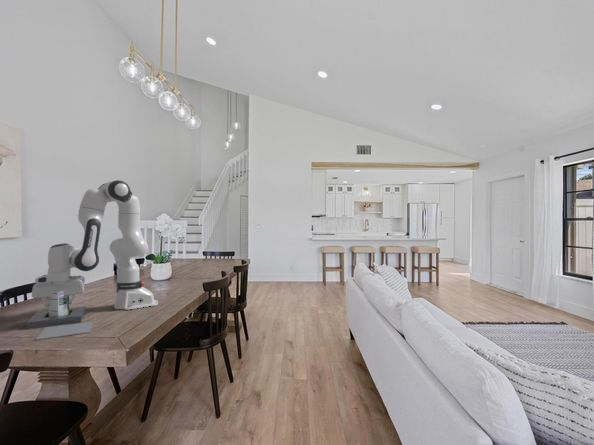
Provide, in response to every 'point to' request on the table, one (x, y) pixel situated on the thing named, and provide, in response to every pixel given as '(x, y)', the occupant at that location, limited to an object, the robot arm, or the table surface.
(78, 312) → the holder block
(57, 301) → the syrup box
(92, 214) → the robot arm
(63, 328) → the grey mat
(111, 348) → the table surface
